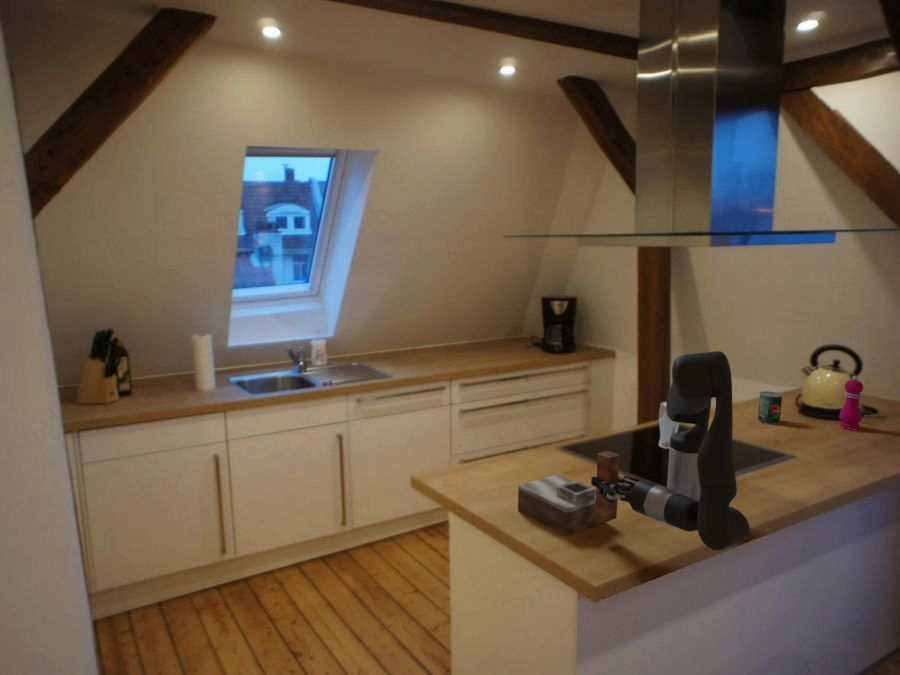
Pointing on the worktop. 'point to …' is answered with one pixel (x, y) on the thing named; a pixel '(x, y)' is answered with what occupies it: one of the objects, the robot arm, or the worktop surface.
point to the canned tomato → (769, 407)
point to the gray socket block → (559, 504)
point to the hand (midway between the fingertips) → (598, 478)
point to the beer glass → (666, 427)
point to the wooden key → (610, 473)
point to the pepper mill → (851, 404)
